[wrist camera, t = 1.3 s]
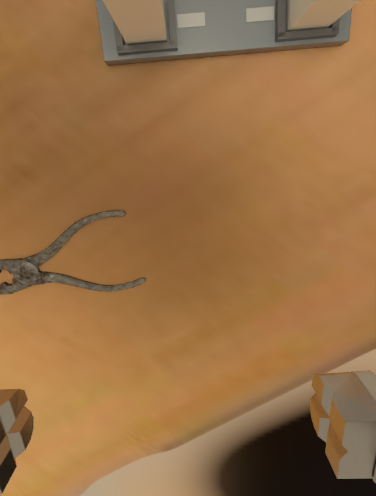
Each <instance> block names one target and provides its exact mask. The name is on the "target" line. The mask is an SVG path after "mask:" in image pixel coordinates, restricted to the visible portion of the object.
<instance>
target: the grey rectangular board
mask: <svg viewBox="0 0 376 496" xmlns="http://www.w3.org/2000/svg"><path fill="white" fill-rule="evenodd" d="M163 1H164V12H165V24H166V36H167V42H160V43H148V44H136V45H127V44H126V42H125V40H124V38H123V36H122V34H121V33H120V31H119V29H118V27H117V25H116V24H115V22H114V20H113V18H112V16H111V15H110V13H109V11H108V9H107V7H106V5H105V4H104V2H103V0H96V6H97V13H98V20H99V27H100V34H101V40H102V47H103V54H104V61H105V62H106V63H107V64H108V65H116V64H128V63H140V62H152V61H164V60H176V59H187V58H199V57H211V56H223V55H235V54H247V53H258V52H270V51H282V50H294V49H306V48H318V47H329V46H341V45H343V44H344V43H346V42H347V41H349V37H350V25H351V12H352V8H351V9H350V10H349V11H347V12H346V13H345V14H344V15H342V16H341V17H340V18H339V19H337V20H336V21H335V22H334V23H332V24H331V25H330V26H329V27H327V28H325V29H313V30H301V31H289V32H286V13H287V0H163Z"/></svg>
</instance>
